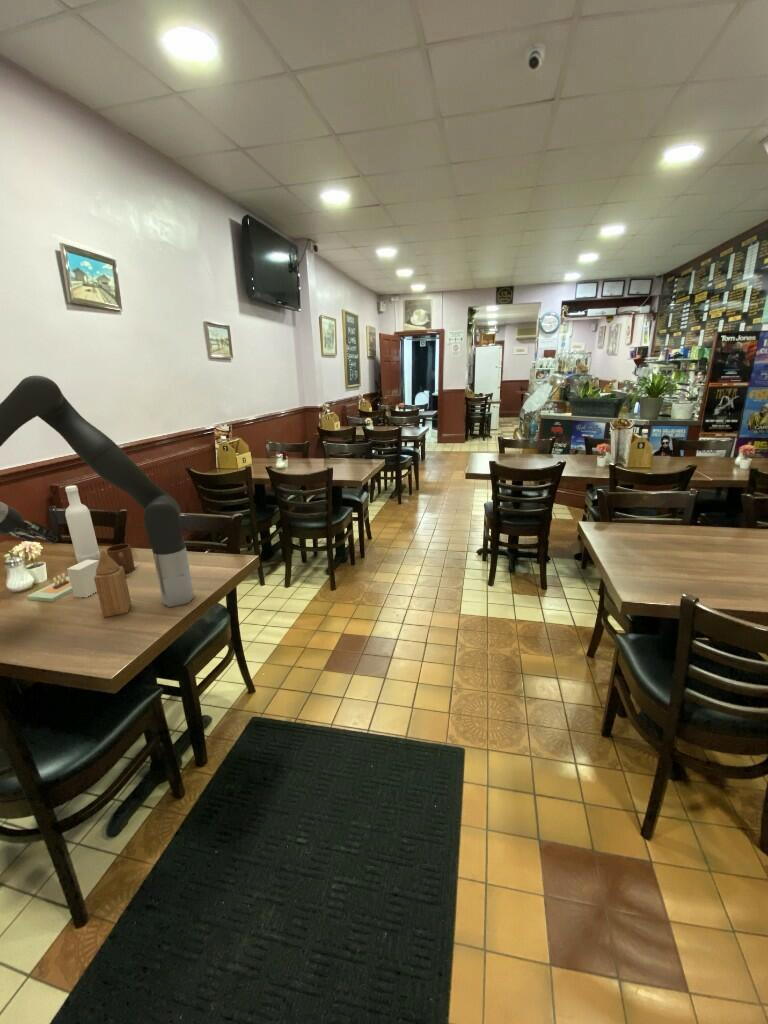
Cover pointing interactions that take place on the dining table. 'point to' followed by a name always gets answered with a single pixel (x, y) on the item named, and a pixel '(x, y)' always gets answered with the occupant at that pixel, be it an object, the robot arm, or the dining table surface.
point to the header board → (53, 590)
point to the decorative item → (111, 587)
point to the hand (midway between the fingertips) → (44, 539)
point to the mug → (122, 556)
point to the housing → (83, 578)
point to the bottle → (81, 527)
